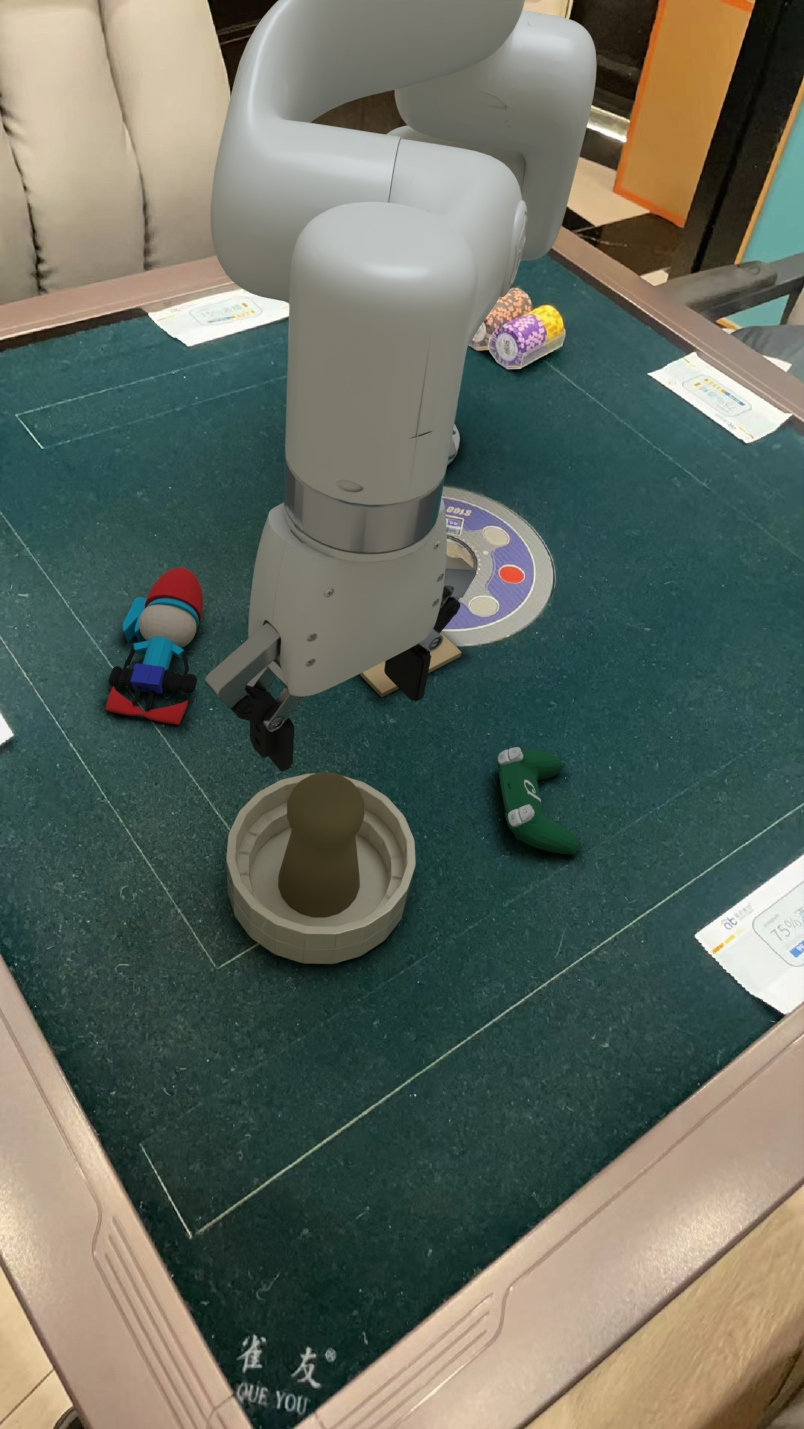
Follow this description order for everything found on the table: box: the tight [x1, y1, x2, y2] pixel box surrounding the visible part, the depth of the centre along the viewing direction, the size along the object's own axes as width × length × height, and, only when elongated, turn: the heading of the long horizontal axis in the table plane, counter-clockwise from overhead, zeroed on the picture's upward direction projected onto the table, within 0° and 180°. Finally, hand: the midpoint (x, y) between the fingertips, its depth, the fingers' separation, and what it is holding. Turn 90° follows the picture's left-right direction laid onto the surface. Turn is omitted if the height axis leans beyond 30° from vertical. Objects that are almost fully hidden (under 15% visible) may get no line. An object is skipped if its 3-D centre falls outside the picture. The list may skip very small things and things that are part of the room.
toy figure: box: [105, 567, 204, 726], centre depth 89 cm, size 8×5×15 cm
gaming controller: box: [496, 746, 580, 856], centre depth 83 cm, size 9×4×6 cm
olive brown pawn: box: [278, 772, 365, 918], centre depth 73 cm, size 6×6×11 cm
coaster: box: [359, 631, 462, 698], centre depth 94 cm, size 9×9×1 cm
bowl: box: [225, 773, 417, 965], centre depth 76 cm, size 13×13×5 cm
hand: (340, 718), depth 63 cm, fingers open, 9 cm apart
